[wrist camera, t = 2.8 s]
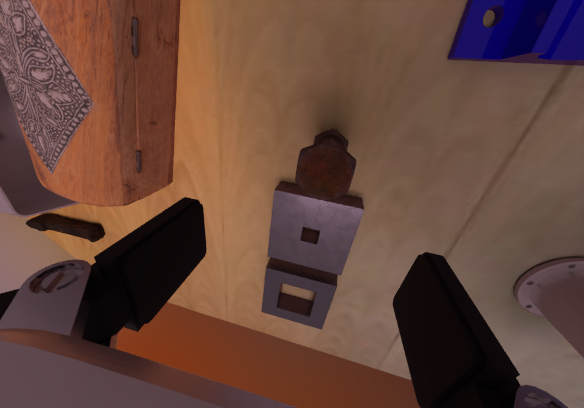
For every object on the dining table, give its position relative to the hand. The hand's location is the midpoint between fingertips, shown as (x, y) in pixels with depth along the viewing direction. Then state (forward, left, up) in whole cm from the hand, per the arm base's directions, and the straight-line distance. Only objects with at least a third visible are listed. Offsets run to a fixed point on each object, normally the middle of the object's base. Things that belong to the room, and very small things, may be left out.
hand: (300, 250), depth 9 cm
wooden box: (+33, -3, -26) cm, 43 cm away
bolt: (0, 0, -26) cm, 26 cm away
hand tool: (+60, +32, -26) cm, 73 cm away
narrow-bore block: (0, +15, -26) cm, 30 cm away
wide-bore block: (0, +32, -26) cm, 41 cm away
